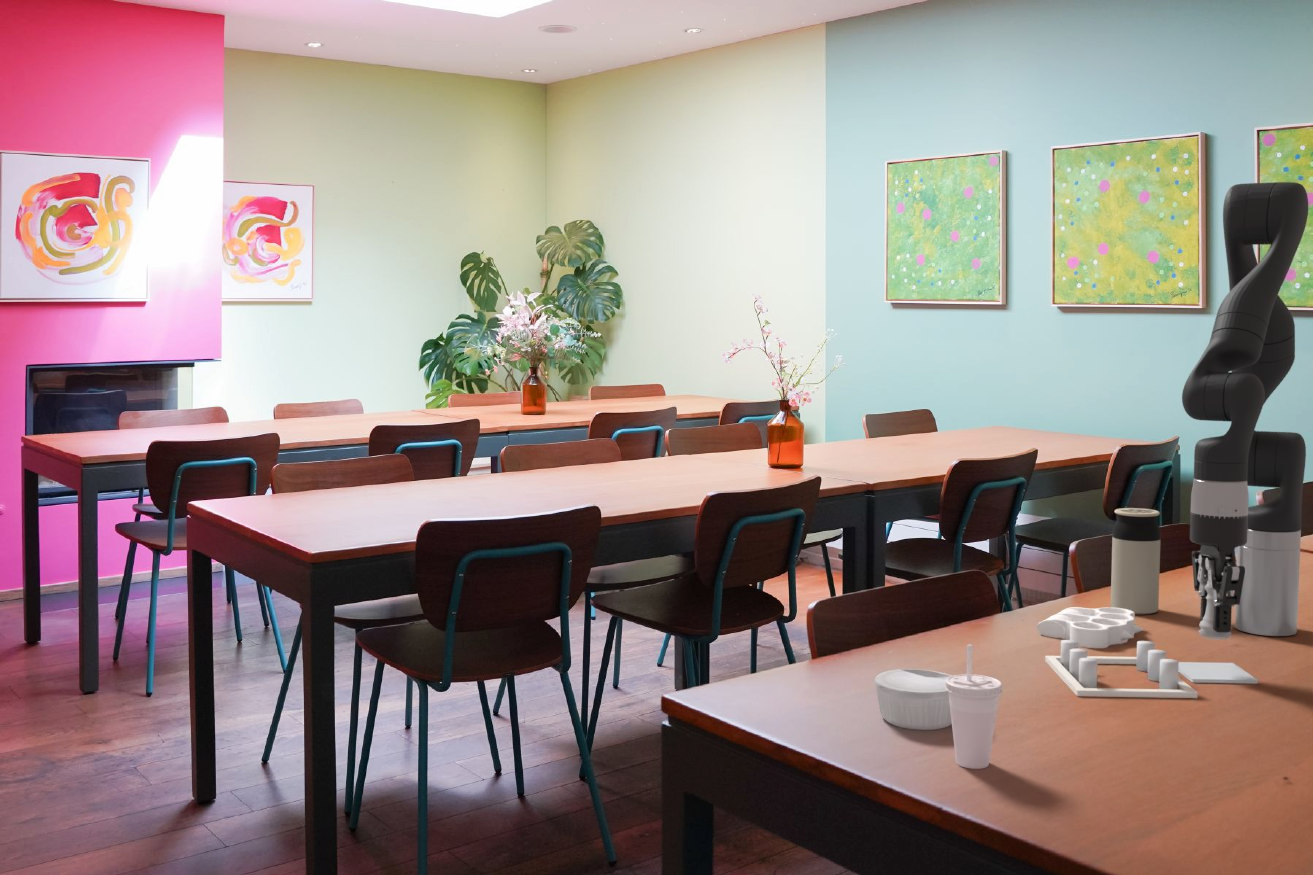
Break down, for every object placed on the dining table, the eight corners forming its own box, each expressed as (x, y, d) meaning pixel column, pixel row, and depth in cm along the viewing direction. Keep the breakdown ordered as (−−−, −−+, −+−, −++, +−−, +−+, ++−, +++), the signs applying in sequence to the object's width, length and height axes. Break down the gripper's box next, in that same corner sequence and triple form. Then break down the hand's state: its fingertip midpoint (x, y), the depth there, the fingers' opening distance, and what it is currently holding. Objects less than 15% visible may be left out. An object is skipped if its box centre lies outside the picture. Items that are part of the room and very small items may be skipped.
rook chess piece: (1235, 640, 172) (1237, 585, 171) (1202, 638, 172) (1204, 584, 172) (1227, 633, 176) (1229, 579, 175) (1194, 631, 177) (1196, 578, 176)
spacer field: (1045, 660, 183) (1045, 634, 182) (1153, 662, 181) (1154, 636, 181) (1077, 696, 165) (1077, 667, 164) (1197, 698, 163) (1198, 669, 163)
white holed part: (1068, 619, 210) (1155, 632, 201) (1029, 641, 196) (1121, 655, 187) (1068, 601, 210) (1155, 612, 201) (1029, 620, 196) (1121, 634, 187)
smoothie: (936, 754, 142) (938, 638, 141) (989, 752, 143) (991, 637, 142) (954, 773, 136) (956, 652, 135) (1009, 771, 136) (1011, 651, 135)
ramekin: (966, 710, 159) (967, 671, 159) (958, 737, 148) (959, 695, 148) (881, 703, 163) (881, 664, 162) (868, 728, 152) (868, 687, 152)
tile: (1170, 665, 180) (1170, 661, 180) (1232, 666, 179) (1232, 662, 179) (1192, 682, 171) (1192, 679, 171) (1257, 683, 170) (1258, 680, 170)
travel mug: (1165, 615, 211) (1168, 514, 210) (1120, 615, 212) (1122, 514, 210) (1147, 605, 219) (1150, 507, 218) (1103, 605, 219) (1106, 507, 218)
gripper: (1267, 518, 165) (1262, 640, 167) (1226, 504, 180) (1222, 616, 181) (1211, 517, 166) (1207, 639, 167) (1174, 503, 180) (1171, 616, 182)
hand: (1215, 627), depth 174 cm, fingers closed on rook chess piece, 4 cm apart
